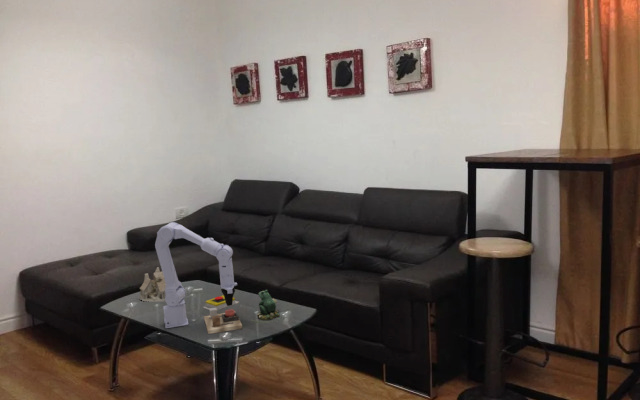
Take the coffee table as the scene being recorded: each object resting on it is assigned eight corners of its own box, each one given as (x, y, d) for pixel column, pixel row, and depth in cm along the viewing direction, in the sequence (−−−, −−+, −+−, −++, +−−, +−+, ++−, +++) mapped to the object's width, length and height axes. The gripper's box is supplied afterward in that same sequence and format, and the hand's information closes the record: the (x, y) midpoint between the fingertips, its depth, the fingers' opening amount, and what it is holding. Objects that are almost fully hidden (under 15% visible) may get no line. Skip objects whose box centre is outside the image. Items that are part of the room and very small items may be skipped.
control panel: (208, 334, 223) (207, 327, 223) (204, 319, 240) (203, 313, 240) (242, 328, 227) (241, 321, 227) (235, 314, 244) (235, 308, 244)
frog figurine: (272, 306, 254) (271, 281, 252) (297, 314, 240) (295, 289, 239) (240, 316, 242) (238, 291, 240) (264, 326, 229) (262, 299, 227)
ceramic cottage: (137, 297, 278) (135, 268, 276) (169, 292, 286) (168, 264, 283) (143, 307, 265) (141, 277, 262) (177, 301, 272) (176, 272, 270)
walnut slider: (213, 326, 226) (212, 318, 226) (212, 324, 229) (211, 316, 228) (220, 325, 227) (219, 317, 226) (219, 323, 230) (219, 315, 229)
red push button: (226, 317, 232) (225, 312, 232) (224, 314, 236) (224, 309, 236) (235, 315, 233) (235, 311, 233) (234, 312, 237) (233, 308, 237)
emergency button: (201, 299, 256) (227, 291, 267) (202, 308, 257) (228, 299, 267) (213, 303, 250) (239, 294, 260) (214, 312, 250) (239, 303, 261)
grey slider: (210, 318, 236) (210, 310, 235) (210, 316, 239) (209, 308, 238) (217, 317, 237) (217, 309, 236) (216, 315, 240) (216, 307, 239)
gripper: (238, 277, 226) (241, 308, 228) (233, 269, 240) (236, 298, 242) (221, 279, 224) (224, 311, 226) (217, 271, 238) (220, 301, 240)
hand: (229, 305), depth 234 cm, fingers closed
